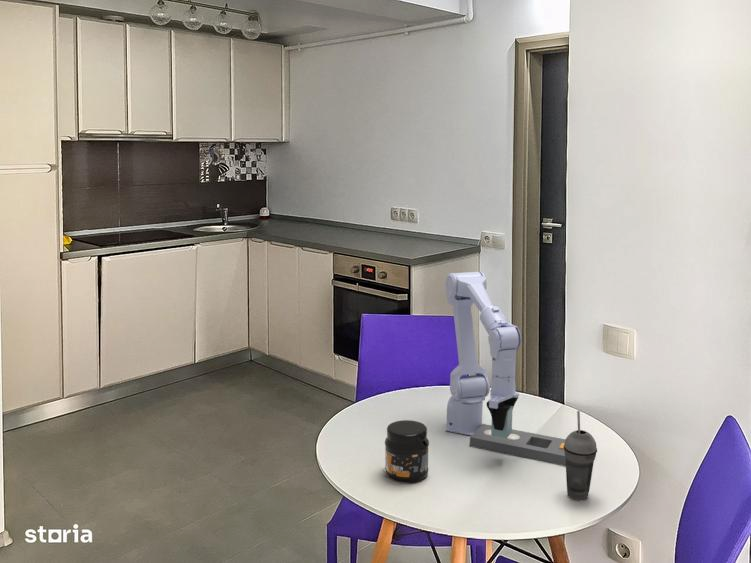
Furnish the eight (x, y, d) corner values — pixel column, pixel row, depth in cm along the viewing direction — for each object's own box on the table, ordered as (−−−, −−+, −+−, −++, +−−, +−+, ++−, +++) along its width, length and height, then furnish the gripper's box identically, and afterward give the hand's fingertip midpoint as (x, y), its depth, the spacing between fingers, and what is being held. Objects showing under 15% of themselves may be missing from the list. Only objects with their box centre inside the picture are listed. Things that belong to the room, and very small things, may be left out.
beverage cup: (576, 507, 157) (581, 421, 153) (554, 492, 163) (558, 410, 159) (601, 499, 160) (606, 415, 156) (578, 485, 167) (582, 404, 163)
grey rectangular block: (491, 435, 178) (492, 407, 177) (496, 429, 182) (497, 402, 180) (506, 438, 176) (507, 410, 175) (511, 432, 180) (512, 404, 178)
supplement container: (376, 475, 172) (375, 428, 170) (402, 460, 180) (402, 415, 178) (411, 489, 165) (411, 440, 163) (437, 472, 173) (437, 426, 171)
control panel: (469, 446, 188) (470, 435, 188) (482, 432, 197) (482, 422, 196) (569, 466, 176) (570, 455, 176) (578, 450, 185) (578, 440, 184)
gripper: (509, 385, 168) (508, 440, 170) (527, 368, 180) (525, 419, 183) (481, 381, 171) (480, 434, 174) (501, 364, 184) (499, 414, 186)
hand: (501, 426), depth 179 cm, fingers closed on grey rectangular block, 4 cm apart
